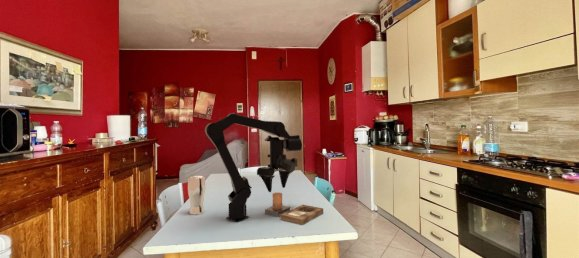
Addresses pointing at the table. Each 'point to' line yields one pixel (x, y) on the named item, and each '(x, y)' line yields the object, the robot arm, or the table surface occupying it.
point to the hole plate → (301, 214)
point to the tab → (276, 211)
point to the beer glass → (196, 194)
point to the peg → (277, 201)
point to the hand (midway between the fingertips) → (277, 189)
